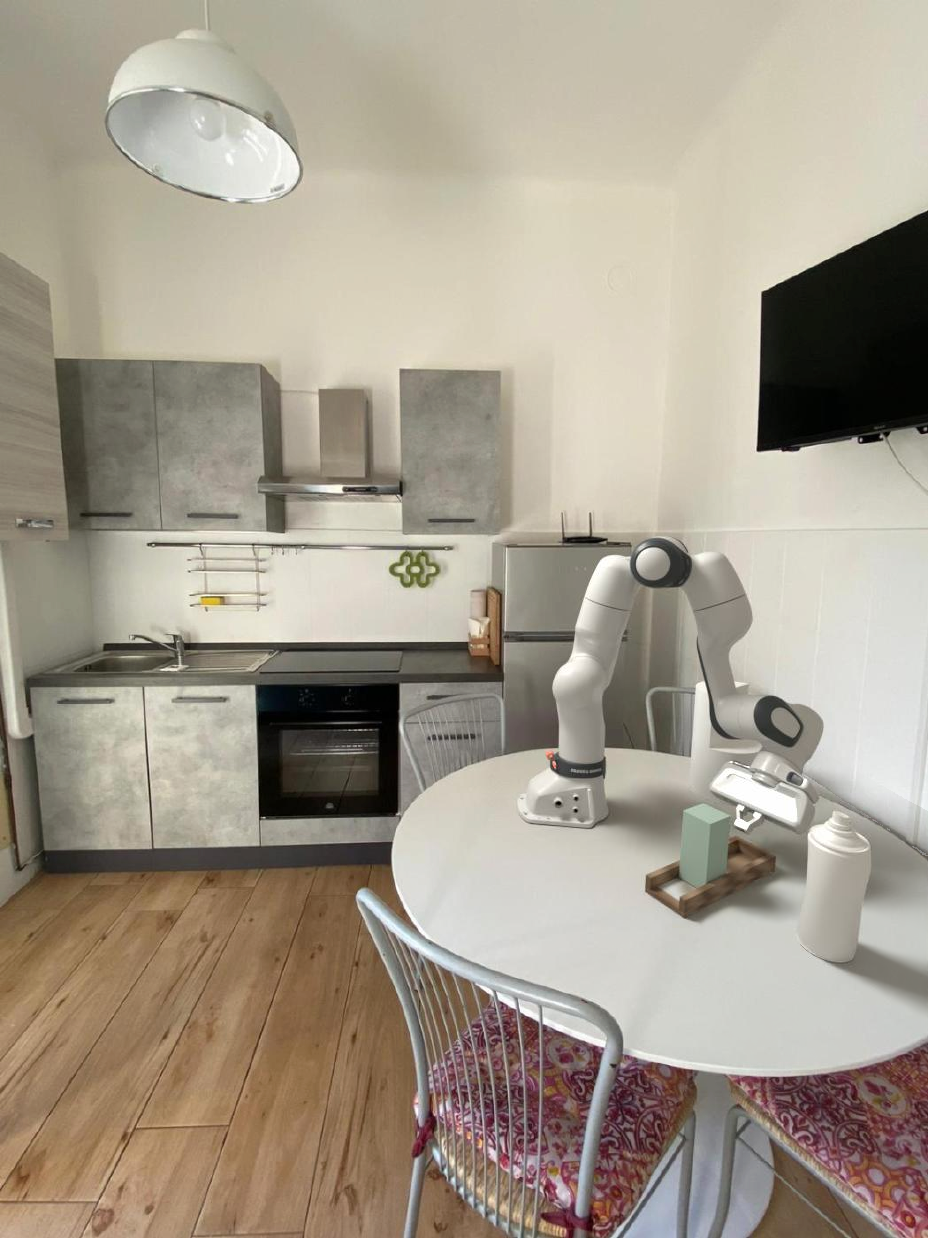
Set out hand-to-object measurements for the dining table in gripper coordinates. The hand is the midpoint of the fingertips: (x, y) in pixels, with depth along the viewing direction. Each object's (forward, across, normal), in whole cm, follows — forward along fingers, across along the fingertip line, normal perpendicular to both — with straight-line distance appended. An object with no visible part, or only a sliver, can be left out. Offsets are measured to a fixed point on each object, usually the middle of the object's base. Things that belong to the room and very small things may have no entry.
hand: (740, 830), depth 118 cm
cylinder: (-15, -24, +27) cm, 39 cm away
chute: (+12, 0, 0) cm, 12 cm away
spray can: (+12, +22, 0) cm, 25 cm away
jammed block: (+13, 0, -3) cm, 14 cm away
